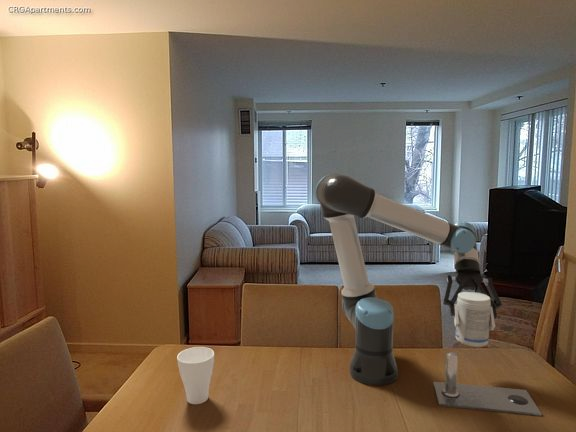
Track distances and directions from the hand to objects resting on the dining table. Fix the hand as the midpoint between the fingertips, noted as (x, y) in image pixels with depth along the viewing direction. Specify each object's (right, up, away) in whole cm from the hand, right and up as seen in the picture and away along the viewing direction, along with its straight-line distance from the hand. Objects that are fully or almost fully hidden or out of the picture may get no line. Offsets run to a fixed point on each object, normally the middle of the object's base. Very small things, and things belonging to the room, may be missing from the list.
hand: (474, 326), depth 129 cm
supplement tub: (+1, -6, +4) cm, 7 cm away
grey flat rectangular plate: (-1, -19, -8) cm, 20 cm away
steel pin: (-10, -18, -6) cm, 22 cm away
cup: (-83, -20, -6) cm, 86 cm away
